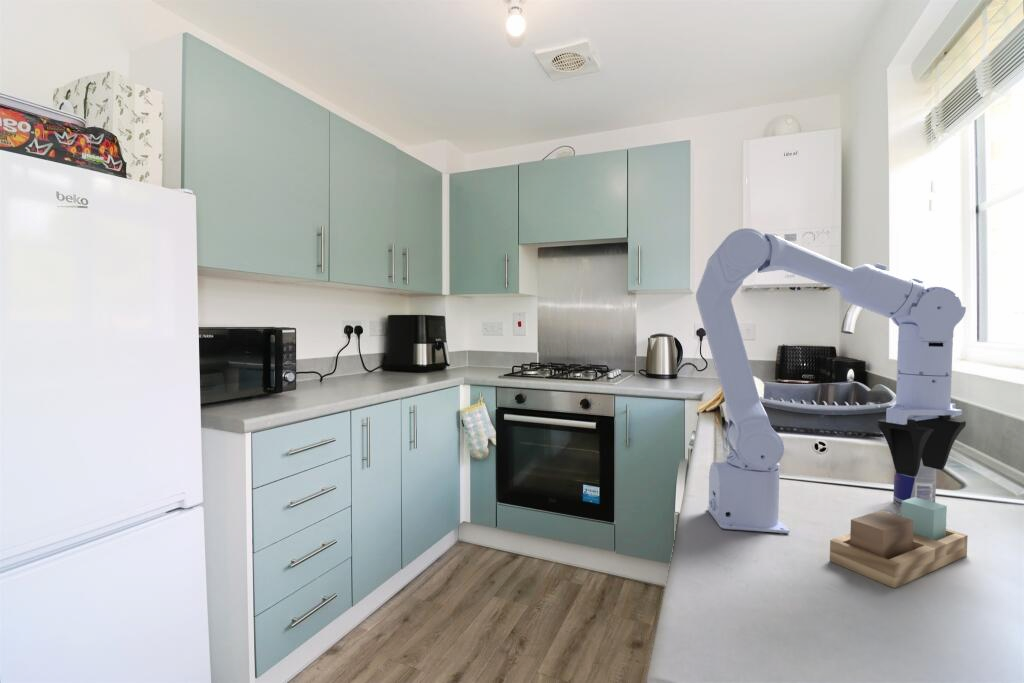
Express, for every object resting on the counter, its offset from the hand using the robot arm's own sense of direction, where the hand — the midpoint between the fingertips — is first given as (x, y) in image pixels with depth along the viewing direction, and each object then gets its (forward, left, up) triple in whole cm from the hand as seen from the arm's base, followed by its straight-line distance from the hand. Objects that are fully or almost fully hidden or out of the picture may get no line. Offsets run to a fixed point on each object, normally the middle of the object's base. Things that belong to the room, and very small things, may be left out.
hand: (920, 471), depth 65 cm
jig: (-6, -6, -10) cm, 13 cm away
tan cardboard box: (-10, -9, -9) cm, 15 cm away
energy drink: (+9, +15, -10) cm, 20 cm away
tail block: (-1, -3, -9) cm, 9 cm away
